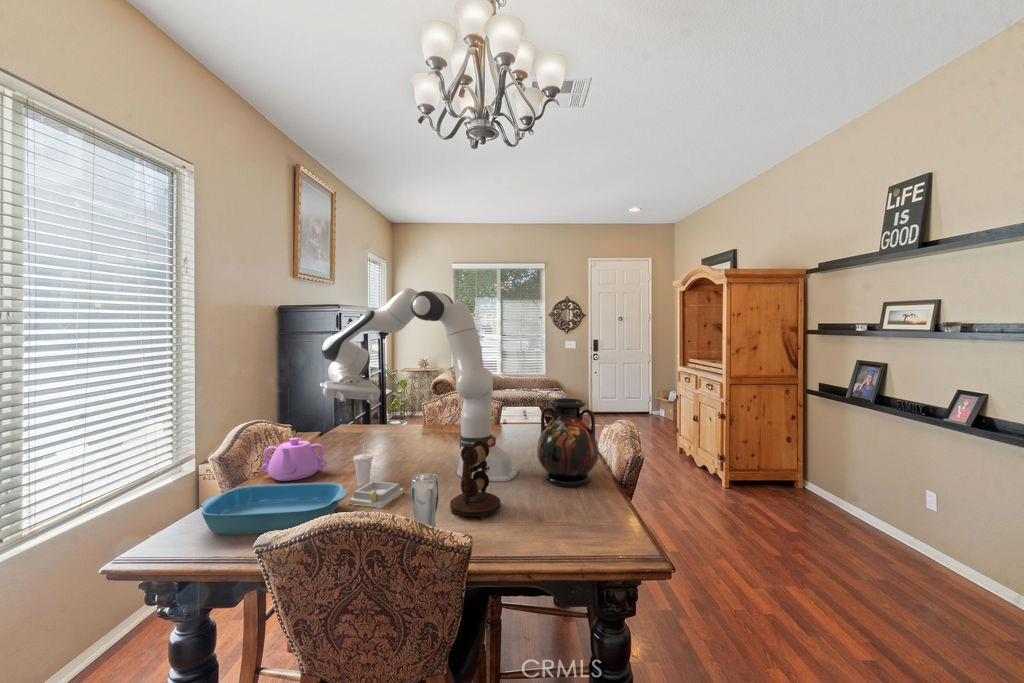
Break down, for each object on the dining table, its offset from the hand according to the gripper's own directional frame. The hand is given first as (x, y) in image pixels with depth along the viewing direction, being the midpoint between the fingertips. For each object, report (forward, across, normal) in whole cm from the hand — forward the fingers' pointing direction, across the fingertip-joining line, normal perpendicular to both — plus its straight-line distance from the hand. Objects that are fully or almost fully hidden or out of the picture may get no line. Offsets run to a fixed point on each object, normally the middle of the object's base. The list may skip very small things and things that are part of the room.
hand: (357, 400), depth 156 cm
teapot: (-5, -13, +34) cm, 37 cm away
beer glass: (+61, +3, +9) cm, 61 cm away
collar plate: (+31, +2, +19) cm, 36 cm away
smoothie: (+16, +4, +24) cm, 29 cm away
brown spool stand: (+55, +21, +8) cm, 60 cm away
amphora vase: (+52, +60, +2) cm, 80 cm away
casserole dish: (+30, -25, +25) cm, 46 cm away
